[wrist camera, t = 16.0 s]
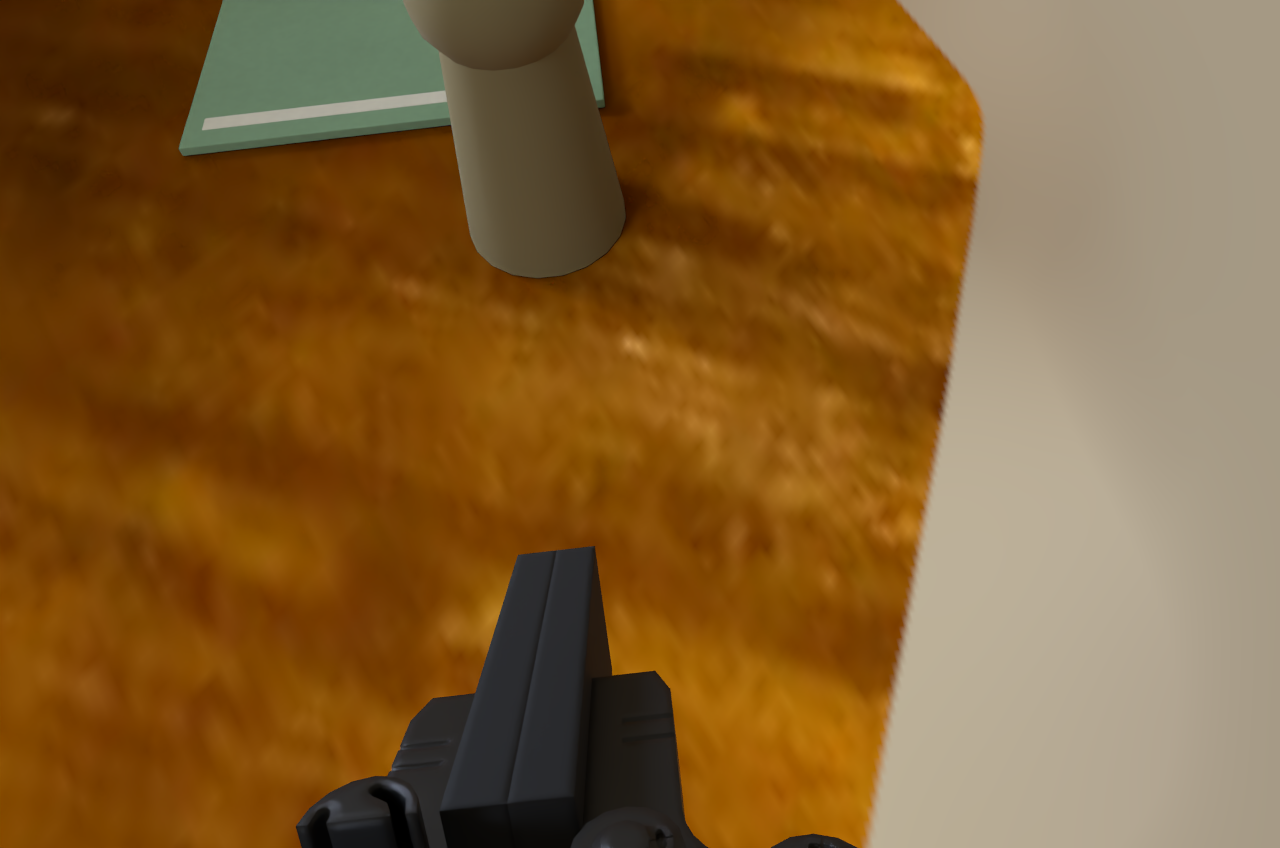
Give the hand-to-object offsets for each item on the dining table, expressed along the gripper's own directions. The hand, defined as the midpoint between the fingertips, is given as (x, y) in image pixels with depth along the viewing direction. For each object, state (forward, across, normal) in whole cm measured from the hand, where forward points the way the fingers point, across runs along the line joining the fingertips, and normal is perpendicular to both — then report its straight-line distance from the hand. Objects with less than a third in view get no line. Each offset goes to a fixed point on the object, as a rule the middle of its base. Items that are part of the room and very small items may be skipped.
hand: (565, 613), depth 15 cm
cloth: (+25, -7, +16) cm, 31 cm away
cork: (+17, -1, +8) cm, 19 cm away
